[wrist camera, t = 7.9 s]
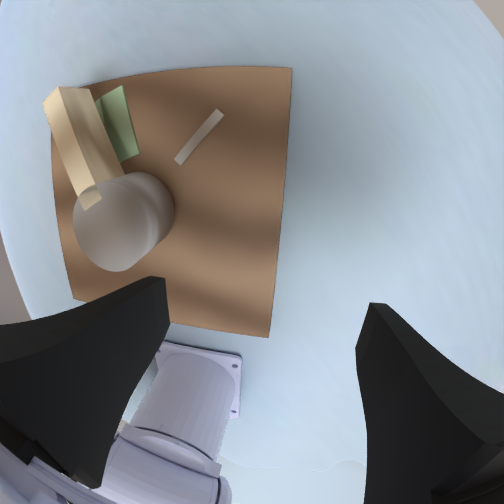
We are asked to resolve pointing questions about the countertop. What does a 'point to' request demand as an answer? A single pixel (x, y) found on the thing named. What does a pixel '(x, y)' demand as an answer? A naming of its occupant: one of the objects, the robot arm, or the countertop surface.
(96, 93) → the base
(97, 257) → the beige elongated block piece
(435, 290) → the countertop surface
